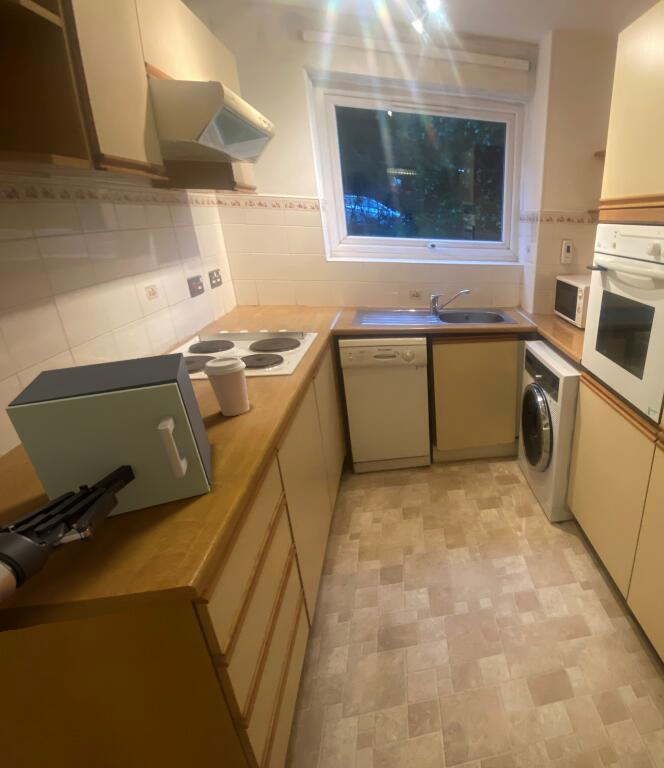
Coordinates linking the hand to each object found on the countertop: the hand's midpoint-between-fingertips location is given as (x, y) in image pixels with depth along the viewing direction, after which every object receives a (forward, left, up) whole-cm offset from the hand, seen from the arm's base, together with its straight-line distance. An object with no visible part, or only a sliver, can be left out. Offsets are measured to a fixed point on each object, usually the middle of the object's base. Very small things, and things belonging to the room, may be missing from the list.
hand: (128, 471), depth 78 cm
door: (-1, -2, -9) cm, 9 cm away
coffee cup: (+17, +40, -9) cm, 44 cm away
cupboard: (0, +12, -9) cm, 15 cm away
